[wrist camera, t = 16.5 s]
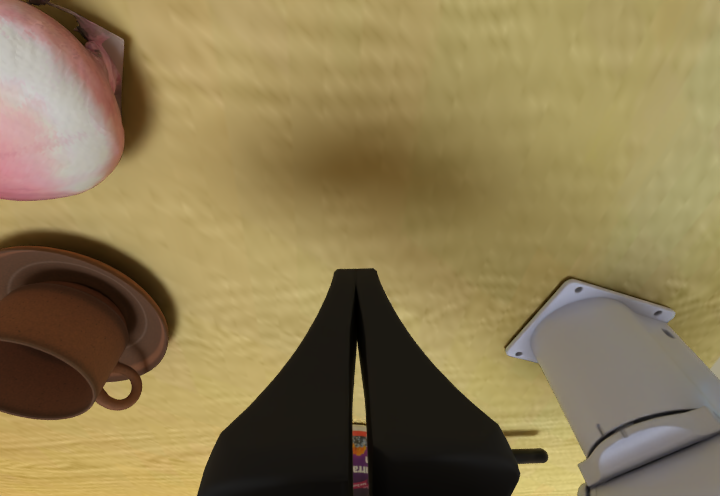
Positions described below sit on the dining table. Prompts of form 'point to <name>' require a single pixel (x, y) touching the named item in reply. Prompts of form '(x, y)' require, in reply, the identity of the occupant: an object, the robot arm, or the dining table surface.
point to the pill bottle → (360, 461)
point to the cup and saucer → (71, 333)
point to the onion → (56, 104)
